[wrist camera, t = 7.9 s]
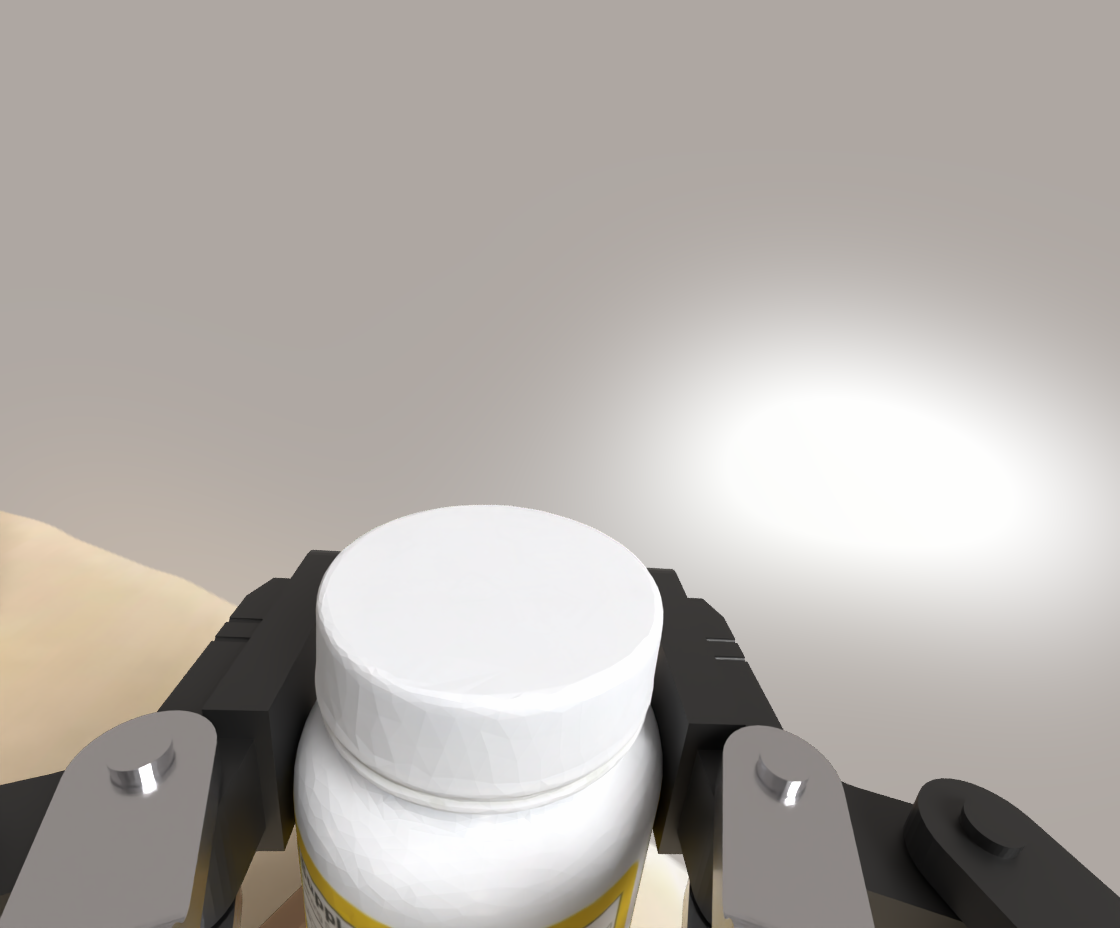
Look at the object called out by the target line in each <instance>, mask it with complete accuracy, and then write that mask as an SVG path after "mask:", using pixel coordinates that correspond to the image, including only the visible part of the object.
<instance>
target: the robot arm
mask: <svg viewBox="0 0 1120 928" xmlns="http://www.w3.org/2000/svg"><path fill="white" fill-rule="evenodd" d="M340 552H341V551H323V550H311V551H310V552H309V553H308V554H307V556H306V557H305V558H304V560H303V561H302V563H301V564H300V566H299V567H298V569H297V570H296V571H295V573H294V575H293V576H292V577H291V579H289V578H288V579H287V578H273V579H271V580H270V581H268V582H267V583H265V584H264V585H262V586H261V587H259V588H258V589H256V590H254V591H253V592H251V593H250V594H248V595H247V596H246V597H245V598H244V600H243V601H242V602H241V604H240V605H239V606H238V607H237V609H236V610H235V611H234V613H233V614H232V615H231V616H230V620H229V622H226V623H225V624H224V626H223V627H222V628H221V629H220V631H219V632H218V633H217V635H216V636H215V641H211V642H210V644H209V645H208V646H207V648H206V649H205V650H204V651H203V653H202V654H201V655H200V657H199V658H198V659H197V661H196V662H195V663H194V664H193V666H192V667H191V668H190V670H189V671H188V672H187V674H186V675H185V676H184V677H183V679H182V680H181V681H180V683H179V684H178V685H177V686H176V688H175V689H174V690H173V692H172V693H171V694H170V696H169V697H168V698H167V699H166V701H165V702H164V703H163V705H162V706H161V707H160V708H159V710H158V711H157V712H156V713H152V714H147V715H144V716H141V717H138V718H135V719H132V720H129V721H127V722H125V723H122V724H120V725H118V726H116V727H114V728H112V729H111V730H109V731H107V732H105V733H104V734H102V735H101V736H99V737H98V738H96V739H95V740H93V741H92V742H91V743H90V744H88V745H87V746H86V747H85V748H83V749H82V750H81V751H80V752H79V753H78V754H77V755H76V756H75V757H74V759H73V760H72V761H71V763H70V764H69V765H68V766H67V768H66V770H64V771H61V772H57V773H53V774H49V775H44V776H40V777H35V778H31V779H26V780H22V781H17V782H13V783H8V784H4V785H0V928H240V922H241V911H242V890H241V884H242V882H243V880H244V877H245V875H246V873H247V870H248V868H249V866H250V863H251V861H252V859H253V856H254V854H255V852H256V851H285V848H286V845H287V843H288V840H289V838H290V835H291V833H292V830H293V827H294V825H295V813H294V800H293V786H294V766H295V760H296V754H297V748H298V745H299V741H300V738H301V734H302V731H303V728H304V725H305V722H306V720H307V718H308V716H309V713H310V711H311V709H312V707H313V706H314V704H315V702H316V700H317V696H316V688H315V669H316V602H317V594H318V589H319V586H320V584H321V581H322V578H323V576H324V574H325V572H326V571H327V569H328V568H329V566H330V565H331V563H332V562H333V561H334V559H335V558H336V557H337V556H338V554H339V553H340ZM647 570H648V572H649V573H650V575H651V576H652V577H653V579H654V581H655V583H656V585H657V587H658V589H659V592H660V596H661V600H662V606H663V627H662V634H661V640H660V646H659V651H658V657H657V662H656V668H655V674H654V684H653V691H652V697H651V702H650V705H651V707H652V709H653V711H654V715H655V718H656V721H657V725H658V729H659V734H660V740H661V746H662V752H663V778H662V785H661V792H660V799H659V803H658V807H657V811H656V816H655V820H654V824H653V833H654V837H655V842H656V846H657V851H658V854H683V857H684V861H685V864H686V868H687V872H688V876H689V878H688V882H687V886H686V890H685V894H684V900H683V913H682V928H1120V897H1118V896H1117V895H1116V894H1115V893H1114V892H1113V891H1112V890H1111V889H1110V888H1108V887H1107V886H1106V885H1105V884H1104V883H1103V882H1102V881H1101V880H1099V879H1098V878H1097V877H1096V876H1095V875H1094V874H1093V873H1091V872H1090V871H1089V870H1088V869H1087V868H1086V867H1084V865H1082V864H1081V863H1080V862H1079V861H1078V860H1077V859H1076V858H1074V857H1073V856H1072V855H1071V854H1070V853H1069V852H1067V851H1066V850H1065V849H1064V848H1063V847H1062V846H1061V845H1060V844H1059V843H1057V842H1056V841H1055V840H1054V839H1053V838H1052V837H1051V836H1050V835H1048V834H1047V833H1046V832H1045V831H1044V830H1043V829H1042V828H1041V827H1039V826H1038V825H1037V824H1036V823H1035V822H1034V821H1033V820H1031V819H1030V818H1029V817H1028V816H1026V815H1025V814H1024V813H1023V812H1022V811H1020V810H1019V809H1018V808H1016V807H1015V806H1013V805H1012V804H1011V803H1009V802H1008V801H1006V800H1005V799H1003V798H1001V797H999V796H998V795H996V794H994V793H992V792H990V791H988V790H986V789H984V788H982V787H979V786H977V785H974V784H972V783H968V782H965V781H961V780H955V779H944V778H941V779H935V780H932V781H929V782H927V783H926V784H925V785H924V786H922V788H921V790H920V791H919V793H918V796H917V798H916V800H915V802H914V804H911V803H907V802H904V801H901V800H897V799H894V798H890V797H887V796H884V795H880V794H877V793H874V792H870V791H867V790H864V789H860V788H857V787H854V786H852V785H848V784H846V783H844V782H842V781H841V780H840V778H839V776H838V774H837V772H836V770H835V769H834V768H833V766H832V765H831V763H830V762H829V761H828V760H827V759H826V758H825V757H824V755H823V754H821V753H820V752H819V751H818V750H817V749H816V748H815V747H813V746H812V745H811V744H809V743H808V742H806V741H805V740H803V739H801V738H800V737H798V736H796V735H794V734H792V733H789V732H787V731H784V730H783V728H782V727H781V724H780V722H779V721H778V719H777V717H776V715H775V713H774V711H773V709H772V707H771V705H770V704H769V702H768V700H767V698H766V696H765V694H764V692H763V690H762V689H761V687H760V685H759V683H758V681H757V679H756V677H755V676H754V674H753V672H752V670H751V668H750V666H749V664H748V662H745V660H744V658H745V657H744V655H743V653H742V651H741V649H740V647H739V645H738V644H737V643H735V638H734V636H733V634H732V632H731V630H730V628H729V627H728V625H727V623H726V621H725V619H724V617H723V616H721V615H720V614H719V613H718V612H717V611H716V610H715V609H713V608H712V607H711V606H710V605H709V604H708V603H707V602H706V601H705V600H703V599H698V598H687V596H686V594H685V591H684V589H683V587H682V585H681V583H680V581H679V578H678V576H677V574H676V572H675V571H674V570H673V569H659V568H647Z"/></svg>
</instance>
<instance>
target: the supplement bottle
mask: <svg viewBox="0 0 1120 928" xmlns="http://www.w3.org/2000/svg"><path fill="white" fill-rule="evenodd" d="M662 627H663V606H662V600H661V596H660V592H659V589H658V587H657V585H656V583H655V581H654V579H653V577H652V576H651V575H650V573H649V572H648V570H647V568H646V567H645V566H644V565H643V563H642V562H641V561H640V560H639V559H638V558H637V557H636V556H635V555H634V554H633V553H632V552H631V551H629V550H628V549H627V548H626V547H624V546H623V545H622V544H621V543H619V542H617V541H616V540H614V539H613V538H611V537H609V536H608V535H606V534H604V533H602V532H600V531H599V530H597V529H594V528H592V527H590V526H588V525H585V524H583V523H580V522H578V521H575V520H573V519H569V518H566V517H562V516H559V515H555V514H552V513H548V512H544V511H540V510H535V509H529V508H522V507H515V506H505V505H462V506H452V507H443V508H436V509H431V510H426V511H422V512H418V513H414V514H410V515H407V516H404V517H401V518H398V519H396V520H393V521H390V522H388V523H386V524H383V525H380V526H378V527H376V528H374V529H372V530H370V531H369V532H367V533H365V534H364V535H362V536H361V537H359V538H357V539H356V540H354V542H352V543H351V544H350V545H348V546H347V547H346V548H345V549H344V550H343V551H341V552H340V553H339V554H338V556H337V557H336V558H335V559H334V561H333V562H332V563H331V565H330V566H329V568H328V569H327V571H326V572H325V574H324V576H323V578H322V581H321V584H320V586H319V589H318V594H317V602H316V669H315V688H316V696H317V700H316V702H315V704H314V706H313V707H312V709H311V711H310V713H309V716H308V718H307V720H306V722H305V725H304V728H303V731H302V734H301V738H300V741H299V745H298V748H297V754H296V760H295V766H294V786H293V800H294V813H295V823H296V833H297V844H298V854H299V863H300V871H301V880H302V889H303V898H304V909H305V919H306V928H630V925H631V920H632V916H633V911H634V907H635V902H636V898H637V894H638V889H639V885H640V881H641V876H642V872H643V868H644V863H645V859H646V854H647V850H648V846H649V841H650V837H651V833H652V829H653V824H654V820H655V816H656V811H657V807H658V803H659V799H660V792H661V785H662V778H663V752H662V746H661V740H660V734H659V729H658V725H657V721H656V718H655V715H654V711H653V709H652V707H651V705H650V702H651V697H652V691H653V684H654V674H655V668H656V662H657V657H658V651H659V646H660V640H661V634H662Z"/></svg>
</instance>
